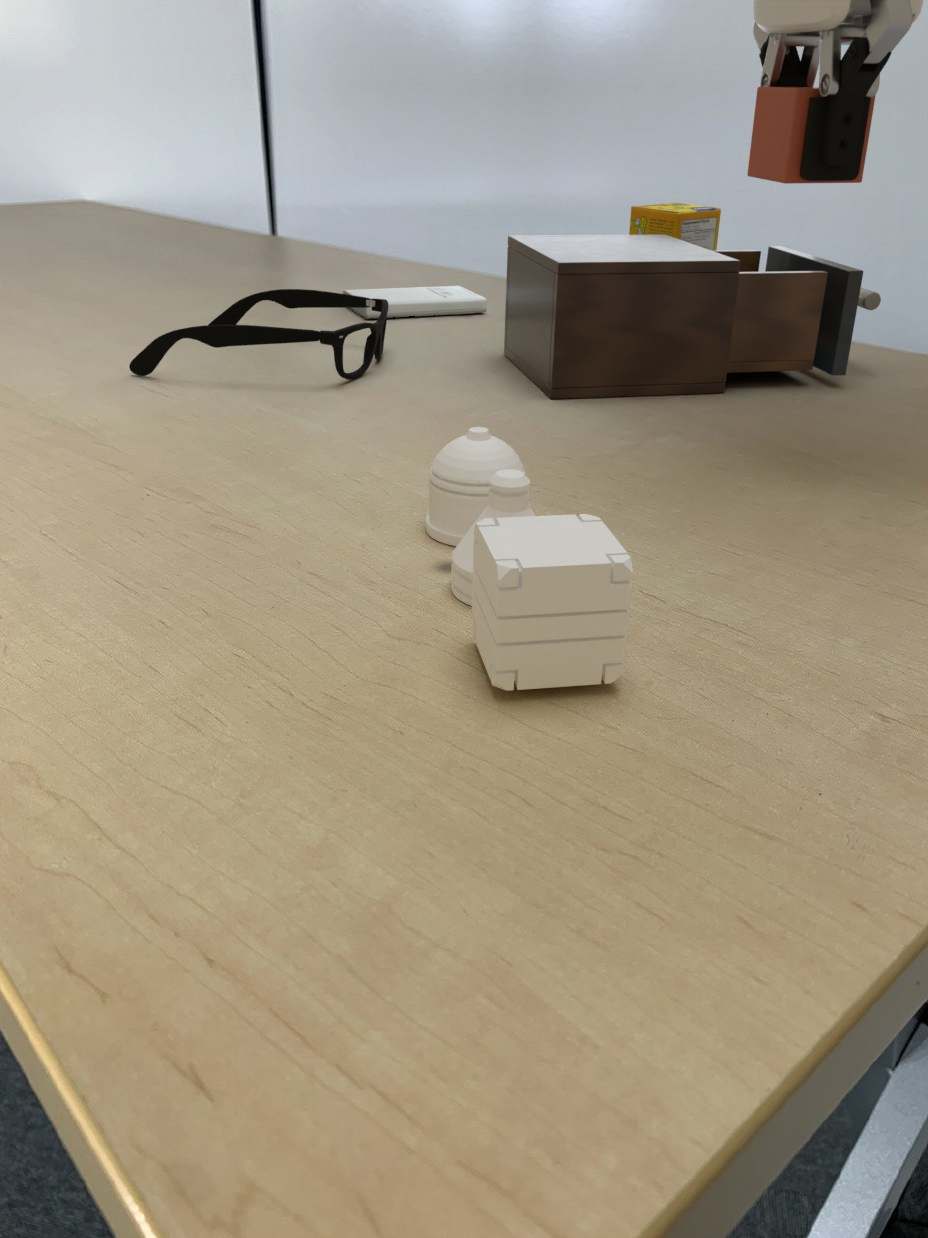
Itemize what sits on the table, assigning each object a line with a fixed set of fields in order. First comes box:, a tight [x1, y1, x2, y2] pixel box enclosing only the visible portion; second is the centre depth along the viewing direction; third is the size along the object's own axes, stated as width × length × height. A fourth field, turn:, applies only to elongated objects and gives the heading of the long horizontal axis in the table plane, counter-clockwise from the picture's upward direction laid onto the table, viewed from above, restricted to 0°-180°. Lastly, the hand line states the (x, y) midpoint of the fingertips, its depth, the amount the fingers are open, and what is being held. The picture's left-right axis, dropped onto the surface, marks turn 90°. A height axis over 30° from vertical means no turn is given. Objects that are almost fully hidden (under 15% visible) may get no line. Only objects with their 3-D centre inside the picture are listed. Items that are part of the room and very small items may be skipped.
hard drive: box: [342, 285, 488, 320], centre depth 110 cm, size 2×8×12 cm
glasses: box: [128, 288, 388, 381], centre depth 88 cm, size 17×18×5 cm
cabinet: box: [503, 234, 741, 400], centre depth 86 cm, size 14×15×10 cm
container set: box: [425, 426, 635, 692], centre depth 49 cm, size 20×5×6 cm, turn 10°
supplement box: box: [628, 202, 722, 250], centre depth 102 cm, size 6×6×11 cm
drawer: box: [711, 245, 882, 376], centre depth 88 cm, size 17×13×8 cm
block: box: [746, 86, 877, 185], centre depth 60 cm, size 5×5×5 cm
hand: (804, 171), depth 61 cm, fingers closed on block, 4 cm apart
